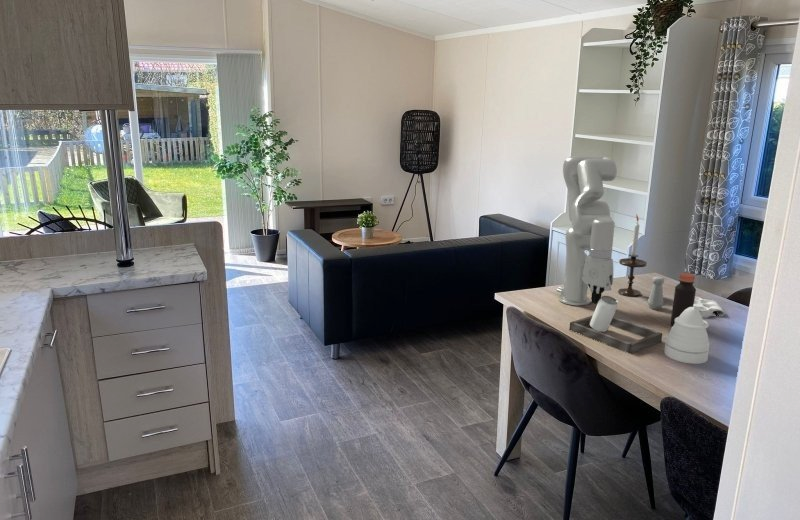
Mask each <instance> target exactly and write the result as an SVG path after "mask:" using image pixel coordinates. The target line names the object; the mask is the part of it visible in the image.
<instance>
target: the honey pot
mask: <svg viewBox="0 0 800 520" xmlns="http://www.w3.org/2000/svg"><path fill="white" fill-rule="evenodd" d="M701 308H702V305H700V304H693V307H689V308H687V309H685V310H684V311H683V312H682V313H681V315H680V316H679V317H677V318H675V320H674V321H675V324H674V325H673V326H671V327H670V330H669V332H668V333H667V335H666V337H665V339H666V340H665V346H664V354H665V356H666V357H668V358H669V359H672V360H674V361H677V362H681V363H685V364H694V365H695V364H696V365H697V364H703V363H706V362H708V359H709V352H710V341H709V336H708V332H707V329H708V328H709V326H710V325H709V323H708V322H707V320H704V318H702V316H701V314H700V312H699V311H700V310H701Z"/></svg>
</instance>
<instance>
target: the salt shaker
mask: <svg viewBox="0 0 800 520" xmlns="http://www.w3.org/2000/svg"><path fill="white" fill-rule="evenodd" d="M651 281H652V284H653V285H652V288H651V290H650V294H649V297H648V300H647V304H648V307H649V309H652V310H655V311H659V310H661V309H662V308H663V305H664V291H663V284H664V283H665V278H664V277H662V276H654V277H652V280H651Z"/></svg>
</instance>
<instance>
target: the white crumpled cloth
mask: <svg viewBox="0 0 800 520" xmlns="http://www.w3.org/2000/svg"><path fill="white" fill-rule="evenodd" d="M694 304H700V305H702V308H701V310H700V311H699V312H700V314H701V316H702V318H703V319H704V318H709V317H710V316H712V317H717V316H718V315H719V316H718V317H720V316H721V317H724V316H725V315H726V311H725V310H723V309H722V307H721V306H720V304H719V302H717V301H715V300H712V299H705V298H701V297H699V296H695V300H694ZM716 311H717V312H718V313H717V312H716ZM713 312H716V313H717V314H715V313H713ZM716 315H717V316H716Z"/></svg>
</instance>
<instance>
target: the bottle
mask: <svg viewBox="0 0 800 520" xmlns="http://www.w3.org/2000/svg"><path fill="white" fill-rule="evenodd" d="M695 277H696V275H695V274H694V273H690V272H689V273H688V272H681V273H680V274H679V283H678V284H676V285H675V287H674V294H673V301H672V310H671V316H670V322H669V323H670V327H672V326H673V325H674V324H675V321H674V320H675V318H677V317H679V316H680V315H681V313H682V312H683V311H684V310H685V309H687V308H689V307H693V304H694V300H695V297H696V291H697V289H696V287H695V286H694V283H695V280H696V279H695Z"/></svg>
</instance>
